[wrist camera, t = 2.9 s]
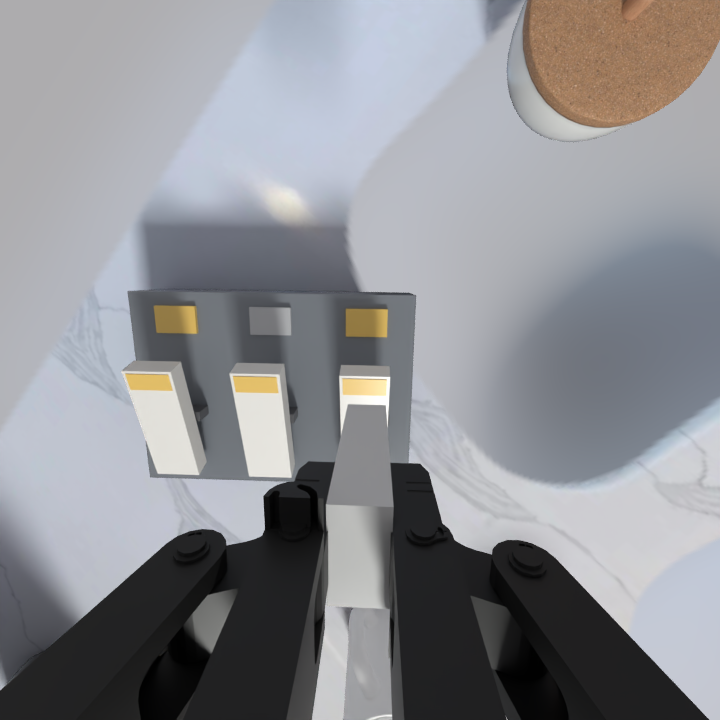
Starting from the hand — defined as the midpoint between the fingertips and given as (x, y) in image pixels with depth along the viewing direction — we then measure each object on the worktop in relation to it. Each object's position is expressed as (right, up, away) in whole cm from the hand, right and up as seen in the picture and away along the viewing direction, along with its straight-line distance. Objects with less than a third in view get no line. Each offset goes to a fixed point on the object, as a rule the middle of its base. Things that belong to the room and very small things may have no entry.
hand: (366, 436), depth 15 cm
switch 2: (-7, -1, +11) cm, 14 cm away
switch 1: (-14, -1, +12) cm, 18 cm away
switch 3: (0, -2, +11) cm, 11 cm away
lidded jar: (+15, +24, +13) cm, 31 cm away
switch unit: (-7, +2, +18) cm, 20 cm away
